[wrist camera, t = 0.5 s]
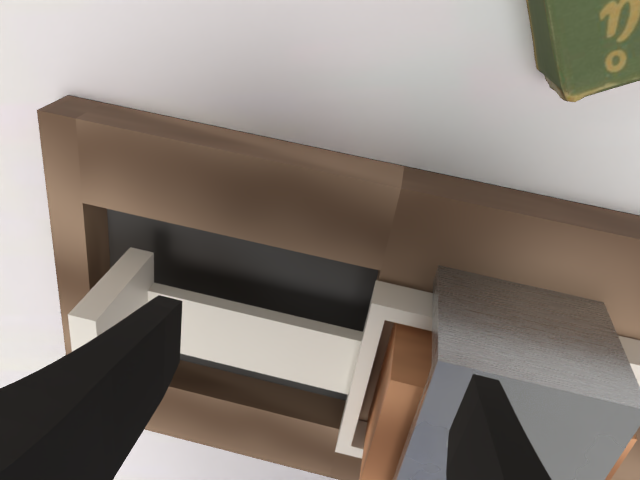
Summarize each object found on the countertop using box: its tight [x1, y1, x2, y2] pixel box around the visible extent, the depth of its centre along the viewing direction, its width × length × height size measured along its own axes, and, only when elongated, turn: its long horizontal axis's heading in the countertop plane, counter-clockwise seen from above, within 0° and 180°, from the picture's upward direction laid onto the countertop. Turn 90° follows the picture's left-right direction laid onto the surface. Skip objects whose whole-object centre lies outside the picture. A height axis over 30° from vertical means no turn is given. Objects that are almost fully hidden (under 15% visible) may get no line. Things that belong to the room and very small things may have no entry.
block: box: [359, 322, 637, 480], centre depth 22 cm, size 6×8×4 cm
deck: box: [37, 95, 640, 480], centre depth 24 cm, size 16×32×2 cm, turn 81°
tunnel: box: [393, 265, 640, 480], centre depth 21 cm, size 11×6×5 cm, turn 171°
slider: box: [68, 247, 640, 459], centre depth 22 cm, size 8×20×4 cm, turn 81°
